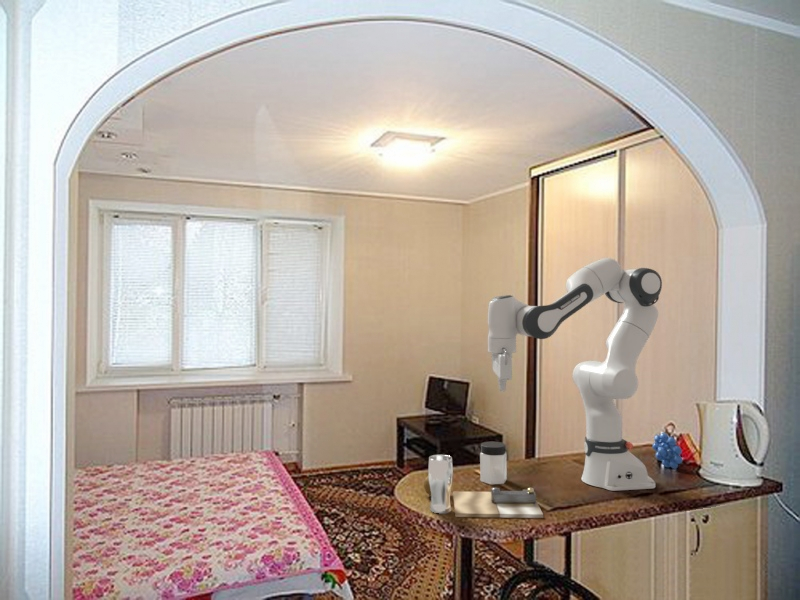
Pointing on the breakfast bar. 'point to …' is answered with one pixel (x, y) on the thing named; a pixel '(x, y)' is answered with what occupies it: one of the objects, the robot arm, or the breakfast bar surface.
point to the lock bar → (513, 496)
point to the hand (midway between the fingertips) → (502, 390)
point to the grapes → (667, 450)
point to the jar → (493, 463)
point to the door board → (492, 506)
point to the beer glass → (440, 482)
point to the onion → (427, 486)
